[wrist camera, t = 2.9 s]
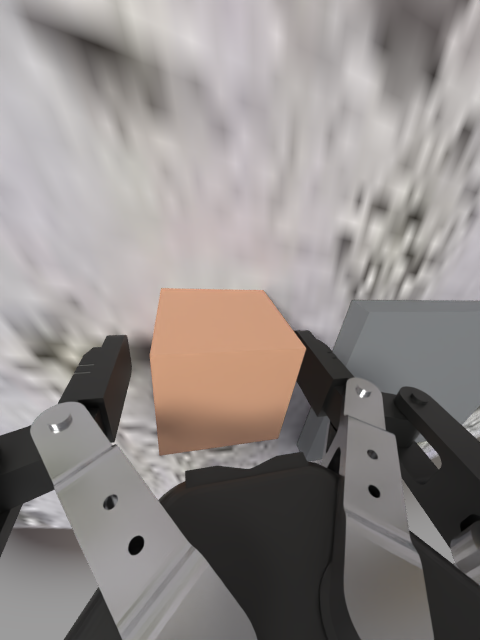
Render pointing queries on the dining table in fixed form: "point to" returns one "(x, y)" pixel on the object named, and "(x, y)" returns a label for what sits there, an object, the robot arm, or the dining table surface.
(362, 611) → the robot arm
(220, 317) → the cube
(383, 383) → the mat
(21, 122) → the dining table surface
